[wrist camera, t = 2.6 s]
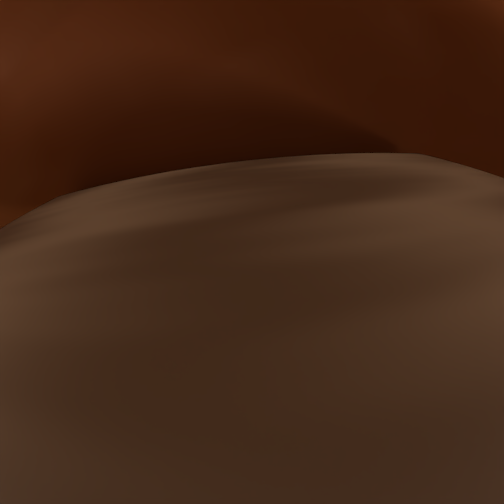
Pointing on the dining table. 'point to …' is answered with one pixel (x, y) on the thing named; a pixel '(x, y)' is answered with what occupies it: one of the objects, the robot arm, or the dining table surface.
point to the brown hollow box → (258, 337)
